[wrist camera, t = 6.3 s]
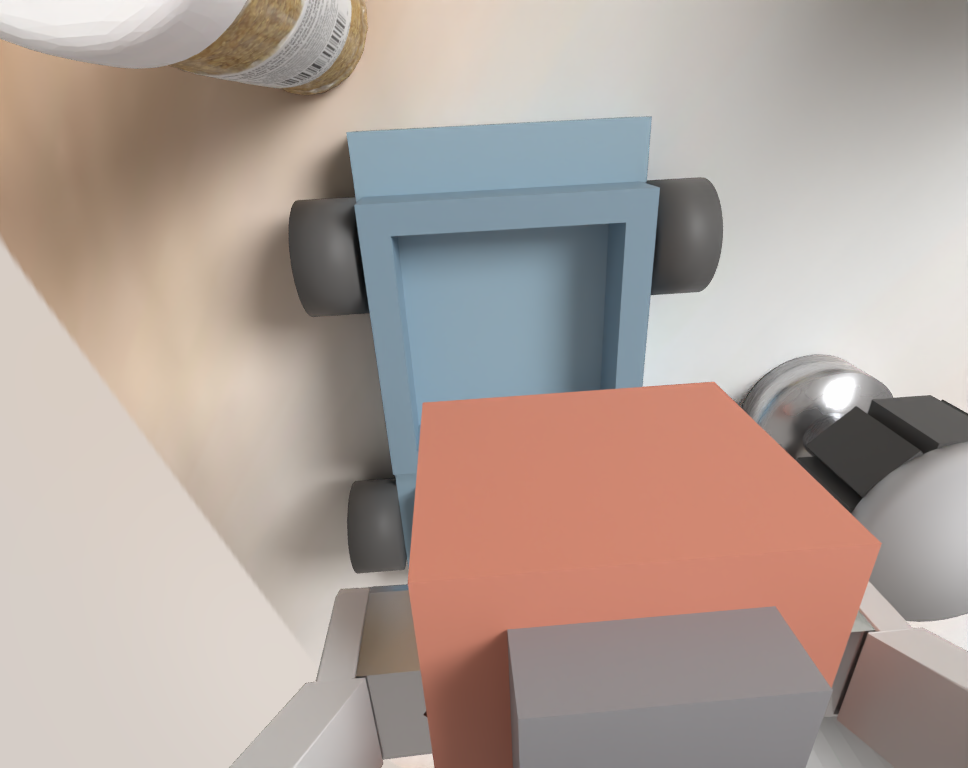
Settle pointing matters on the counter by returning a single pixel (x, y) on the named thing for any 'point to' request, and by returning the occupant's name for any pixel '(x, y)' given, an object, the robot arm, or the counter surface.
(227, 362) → the counter surface
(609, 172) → the chassis
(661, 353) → the counter surface
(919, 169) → the counter surface
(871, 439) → the wheel
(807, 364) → the axle mount
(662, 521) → the block
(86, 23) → the sprinkles bottle
